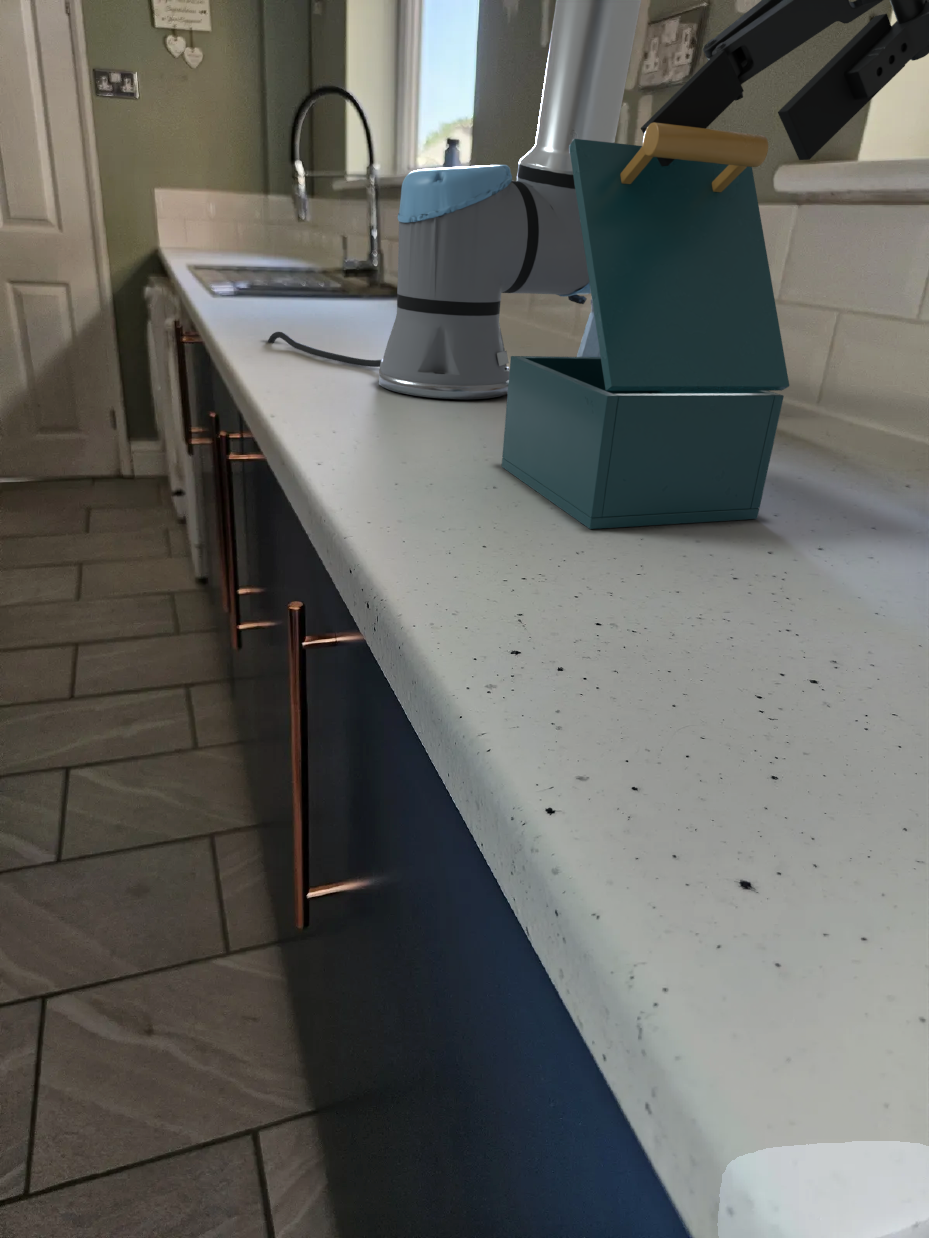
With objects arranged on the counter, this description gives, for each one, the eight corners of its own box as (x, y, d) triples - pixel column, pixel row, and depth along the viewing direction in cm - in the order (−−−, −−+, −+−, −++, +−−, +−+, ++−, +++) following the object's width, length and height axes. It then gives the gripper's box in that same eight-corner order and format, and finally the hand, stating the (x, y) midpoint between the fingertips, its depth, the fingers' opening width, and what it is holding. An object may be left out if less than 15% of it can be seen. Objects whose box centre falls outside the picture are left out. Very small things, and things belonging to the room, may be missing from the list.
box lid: (568, 146, 56) (610, 85, 51) (743, 164, 61) (798, 110, 55) (605, 391, 54) (652, 353, 49) (781, 390, 59) (842, 356, 54)
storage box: (501, 466, 71) (510, 355, 67) (645, 462, 76) (661, 357, 72) (589, 529, 58) (607, 396, 54) (757, 519, 63) (784, 395, 59)
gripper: (821, -141, 56) (579, 100, 57) (1239, -334, 35) (850, 49, 36) (862, -26, 60) (636, 198, 61) (1259, -139, 39) (908, 201, 40)
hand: (715, 143), depth 49 cm, fingers open, 12 cm apart
